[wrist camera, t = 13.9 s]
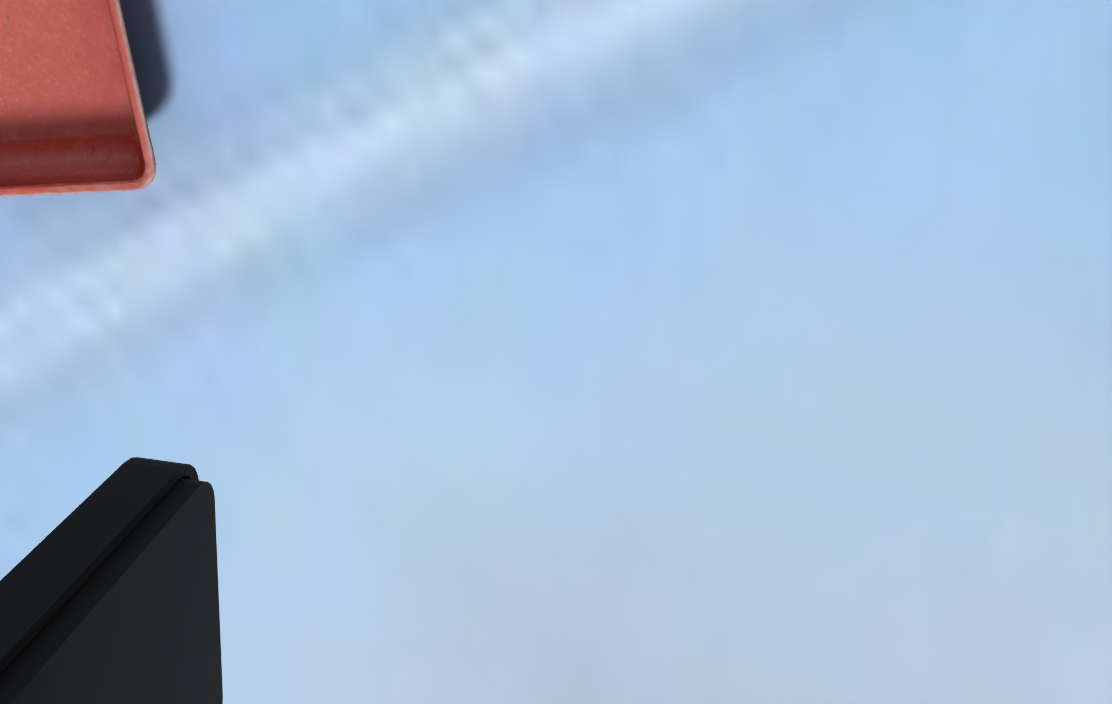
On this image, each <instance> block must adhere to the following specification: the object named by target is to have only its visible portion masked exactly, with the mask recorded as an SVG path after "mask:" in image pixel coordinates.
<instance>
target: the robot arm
mask: <svg viewBox="0 0 1112 704" xmlns="http://www.w3.org/2000/svg"><path fill="white" fill-rule="evenodd" d="M222 700H223V693H222V669H221V644H220V620H219V596H218V571H217V547H216V523H215V498H214V490H213V488H212V485H211V484H210V483H208V482H204V481H199V479H198V475H197V472H196V470H195V468H194V467H193V466H191V465H189V464H182V463H175V462H168V461H160V460H153V459H146V458H139V457H136V458H130V459H129V460H127V461H126V462H124V463H123V464H122V465H121V466H120V467H119V468H118V469H117V470H116V471H115V472H114V473H113V474H112V475H111V476H110V477H109V478H108V479H107V480H106V481H105V482H103V483H102V484H101V485H100V486H99V487H98V488H97V489H96V490H95V491H94V492H93V493H92V494H91V495H90V496H89V497H88V498H87V499H86V500H85V501H84V502H83V503H81V504H80V505H79V506H78V507H77V508H76V509H75V510H74V511H73V512H72V513H71V514H70V515H69V516H68V517H67V518H66V519H65V520H64V521H63V522H62V523H60V524H59V525H58V526H57V527H56V528H55V529H54V530H53V531H52V532H51V533H50V534H49V535H48V536H47V537H46V538H45V539H44V540H43V541H42V542H41V543H40V544H38V545H37V546H36V547H35V548H34V549H33V550H32V551H31V552H30V553H29V554H28V555H27V556H26V557H25V558H24V559H23V560H22V561H21V562H20V563H19V564H17V565H16V566H15V567H14V568H13V569H12V570H11V571H10V572H9V573H8V574H7V575H6V576H5V577H4V578H3V579H2V580H1V581H0V704H222Z"/></svg>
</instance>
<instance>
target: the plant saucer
mask: <svg viewBox="0 0 1112 704" xmlns="http://www.w3.org/2000/svg"><path fill="white" fill-rule="evenodd" d="M155 174H156V163H155V157H154V152H153V147H152V143H151V139H150V134H149V130H148V125H147V121H146V116H145V112H144V107H143V102H142V98H141V93H140V89H139V84H138V80H137V75H136V71H135V66H134V62H133V57H132V53H131V49H130V44H129V40H128V35H127V31H126V26H125V22H124V17H123V12H122V8H121V3H120V0H0V196H11V195H38V194H62V193H84V192H109V191H128V190H139V189H142V188H145V187H146V186H148V185H149V184H150V183H151V182H152V180H153V179H154V176H155Z"/></svg>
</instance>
